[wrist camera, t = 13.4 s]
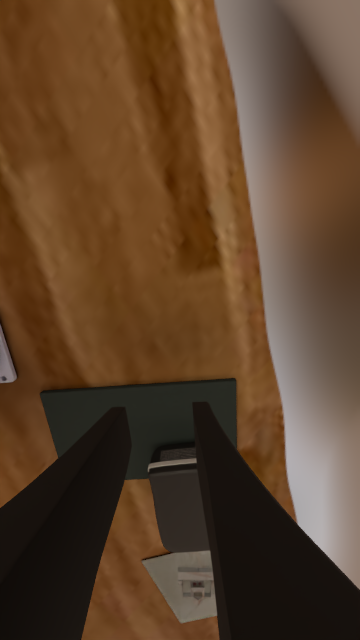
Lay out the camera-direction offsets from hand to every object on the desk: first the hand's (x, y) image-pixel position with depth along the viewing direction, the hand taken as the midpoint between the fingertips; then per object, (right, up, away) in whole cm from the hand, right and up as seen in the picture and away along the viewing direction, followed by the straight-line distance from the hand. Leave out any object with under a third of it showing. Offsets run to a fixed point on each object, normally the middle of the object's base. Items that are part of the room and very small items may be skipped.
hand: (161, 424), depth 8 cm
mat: (-3, -8, +13) cm, 15 cm away
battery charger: (+1, -9, +11) cm, 14 cm away
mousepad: (+1, -30, +18) cm, 35 cm away
